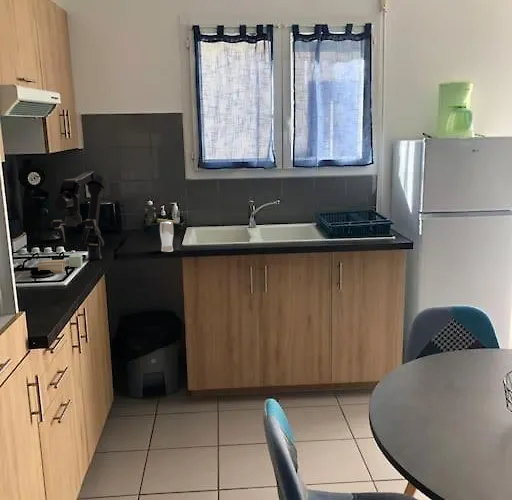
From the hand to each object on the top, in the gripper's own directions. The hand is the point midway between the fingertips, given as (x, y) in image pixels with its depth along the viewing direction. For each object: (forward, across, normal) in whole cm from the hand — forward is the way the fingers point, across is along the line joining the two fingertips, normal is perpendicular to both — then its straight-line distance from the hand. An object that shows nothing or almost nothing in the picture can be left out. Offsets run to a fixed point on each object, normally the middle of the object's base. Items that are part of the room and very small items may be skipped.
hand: (74, 242), depth 261 cm
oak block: (+11, -9, -7) cm, 16 cm away
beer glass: (+12, +41, +32) cm, 53 cm away
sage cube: (+11, 0, 0) cm, 11 cm away
